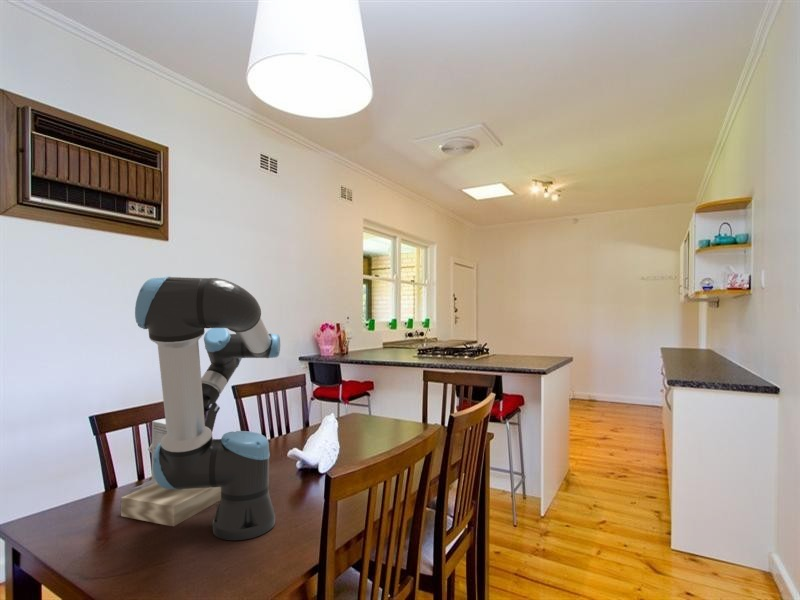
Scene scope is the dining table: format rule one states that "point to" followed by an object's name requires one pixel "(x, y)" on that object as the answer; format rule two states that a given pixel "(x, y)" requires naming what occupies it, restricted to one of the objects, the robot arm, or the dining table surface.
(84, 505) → the dining table surface
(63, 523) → the dining table surface
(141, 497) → the birch stacking block
